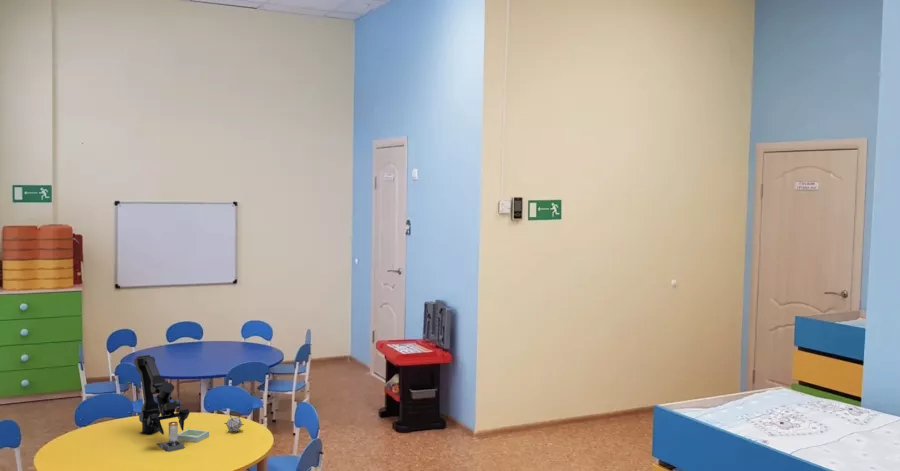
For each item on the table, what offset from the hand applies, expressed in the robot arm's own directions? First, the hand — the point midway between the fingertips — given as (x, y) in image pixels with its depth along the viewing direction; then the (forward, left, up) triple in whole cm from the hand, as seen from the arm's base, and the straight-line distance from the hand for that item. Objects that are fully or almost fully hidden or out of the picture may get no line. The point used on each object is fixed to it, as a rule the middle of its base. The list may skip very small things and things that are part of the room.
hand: (173, 432), depth 358 cm
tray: (0, +15, -8) cm, 17 cm away
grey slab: (-3, +2, -8) cm, 9 cm away
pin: (0, 0, -7) cm, 7 cm away
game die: (+12, +33, -9) cm, 36 cm away
